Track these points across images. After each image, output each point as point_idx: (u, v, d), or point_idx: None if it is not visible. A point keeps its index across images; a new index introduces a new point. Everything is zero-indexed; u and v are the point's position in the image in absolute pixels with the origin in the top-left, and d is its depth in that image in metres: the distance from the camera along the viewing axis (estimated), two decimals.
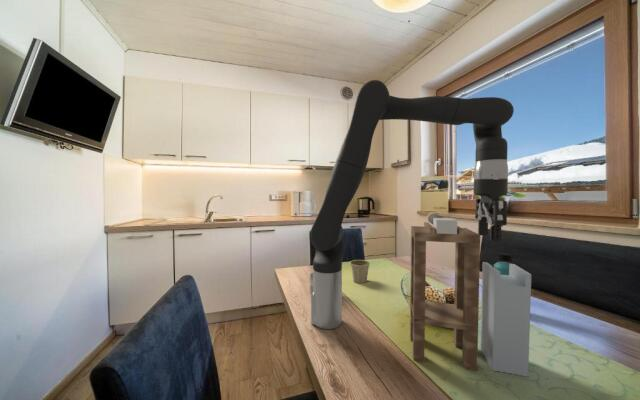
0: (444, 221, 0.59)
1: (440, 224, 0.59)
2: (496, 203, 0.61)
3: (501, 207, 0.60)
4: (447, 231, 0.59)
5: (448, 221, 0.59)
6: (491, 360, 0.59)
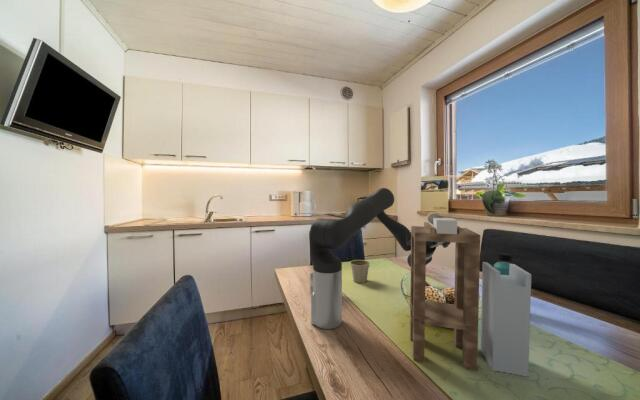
0: (444, 221, 0.59)
1: (440, 224, 0.59)
2: None
3: None
4: (447, 231, 0.59)
5: (448, 221, 0.59)
6: (491, 360, 0.59)
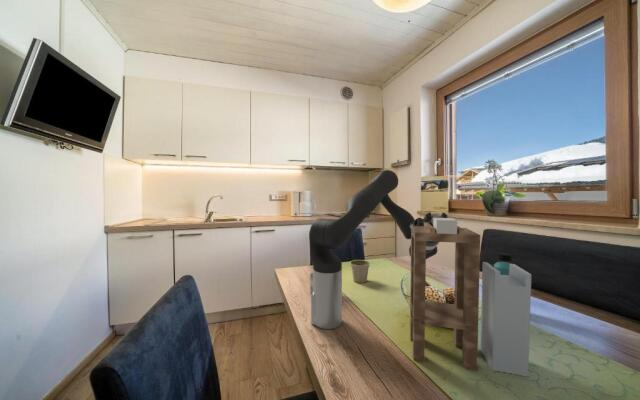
0: (444, 221, 0.59)
1: (440, 224, 0.59)
2: None
3: None
4: (447, 231, 0.59)
5: (448, 221, 0.59)
6: (491, 360, 0.59)
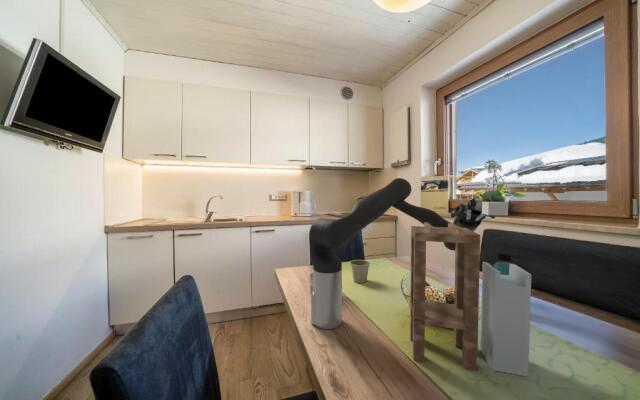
0: (496, 204, 0.64)
1: (492, 207, 0.65)
2: None
3: None
4: (498, 213, 0.64)
5: (499, 203, 0.64)
6: (491, 360, 0.59)
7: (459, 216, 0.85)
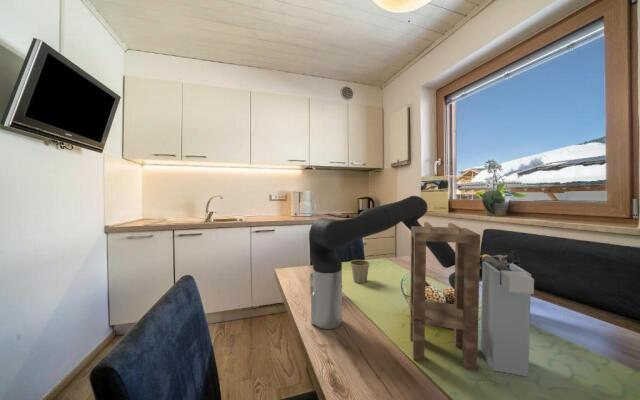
0: (518, 279, 0.53)
1: (514, 282, 0.53)
2: None
3: None
4: (522, 290, 0.53)
5: (523, 279, 0.53)
6: (491, 360, 0.59)
7: None
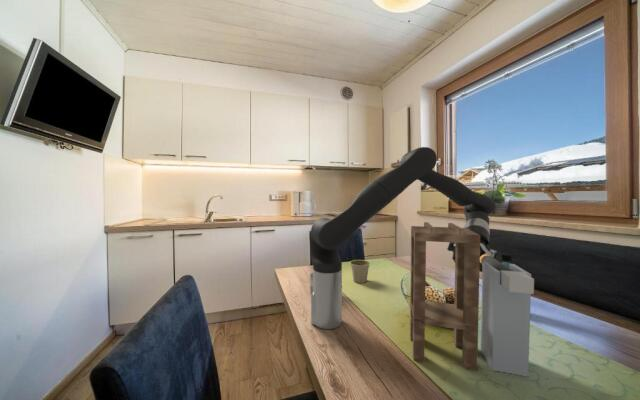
0: (518, 279, 0.53)
1: (514, 282, 0.53)
2: None
3: None
4: (522, 290, 0.53)
5: (523, 279, 0.53)
6: (491, 360, 0.59)
7: None
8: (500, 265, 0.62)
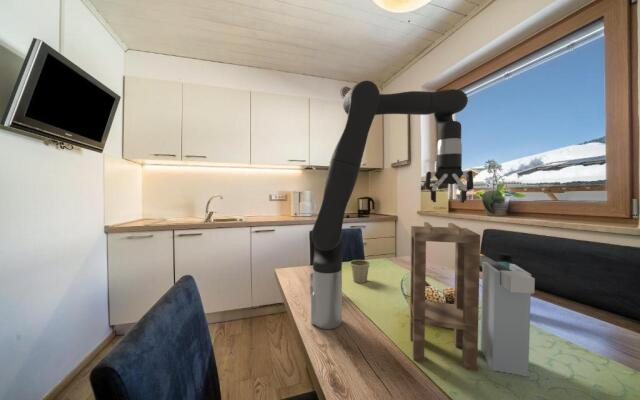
0: (520, 279, 0.53)
1: (515, 282, 0.53)
2: None
3: None
4: (523, 290, 0.53)
5: (524, 279, 0.53)
6: (491, 360, 0.59)
7: None
8: (498, 265, 0.62)
